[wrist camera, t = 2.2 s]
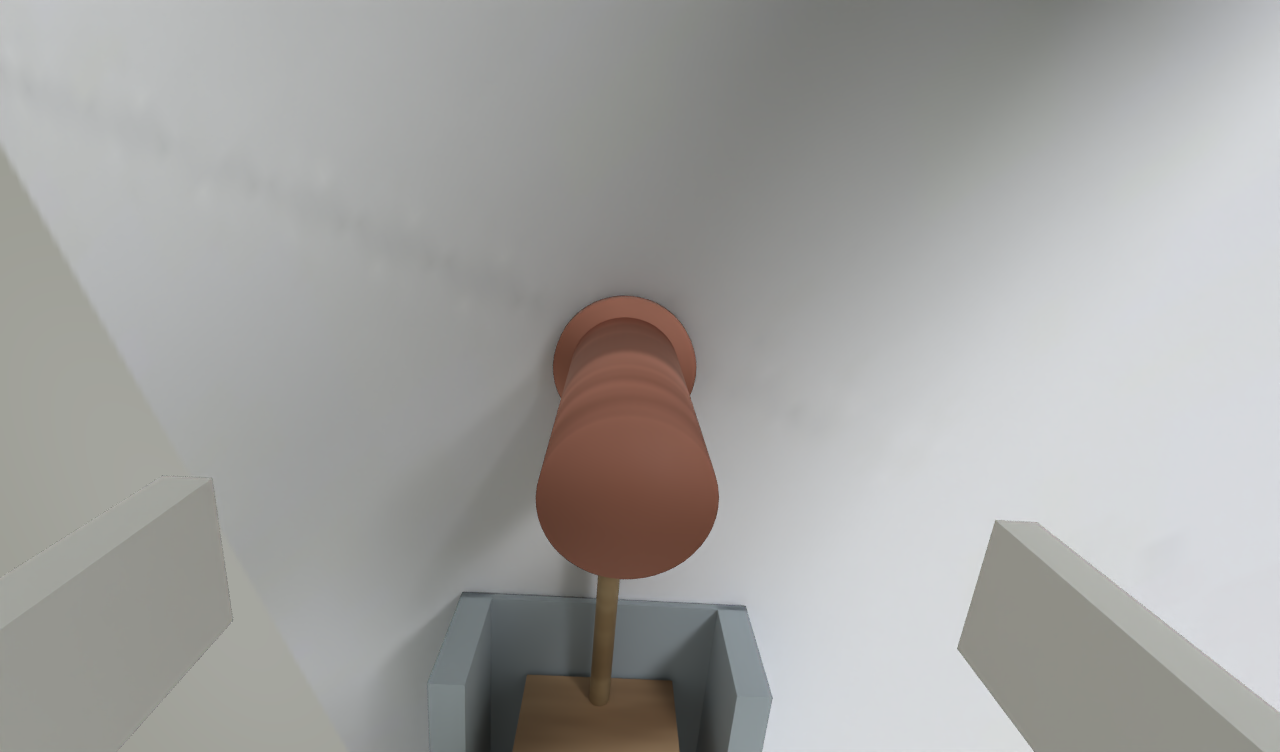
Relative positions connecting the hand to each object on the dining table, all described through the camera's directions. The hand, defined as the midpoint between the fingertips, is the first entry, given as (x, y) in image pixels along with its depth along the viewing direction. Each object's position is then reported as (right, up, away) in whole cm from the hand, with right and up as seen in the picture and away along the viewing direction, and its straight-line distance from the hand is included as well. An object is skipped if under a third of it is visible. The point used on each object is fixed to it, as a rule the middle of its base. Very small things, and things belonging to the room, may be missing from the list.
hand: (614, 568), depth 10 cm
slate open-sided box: (-1, -11, +15) cm, 19 cm away
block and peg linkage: (-1, -4, +13) cm, 14 cm away
